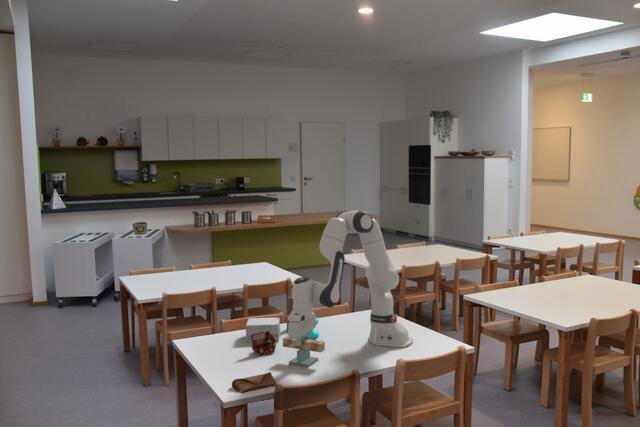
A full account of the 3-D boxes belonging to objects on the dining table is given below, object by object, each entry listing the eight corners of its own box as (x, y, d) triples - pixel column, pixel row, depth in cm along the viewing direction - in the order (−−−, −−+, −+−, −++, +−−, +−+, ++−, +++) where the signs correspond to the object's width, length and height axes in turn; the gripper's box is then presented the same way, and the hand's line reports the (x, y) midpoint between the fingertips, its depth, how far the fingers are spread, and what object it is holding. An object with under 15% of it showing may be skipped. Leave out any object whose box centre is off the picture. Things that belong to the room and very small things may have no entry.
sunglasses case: (239, 394, 230) (235, 377, 233) (234, 397, 236) (230, 381, 238) (279, 385, 239) (276, 369, 242) (273, 388, 245) (270, 372, 247)
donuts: (321, 316, 303) (314, 321, 294) (321, 335, 304) (314, 340, 295) (304, 315, 307) (296, 320, 298) (304, 333, 308) (296, 338, 299)
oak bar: (282, 346, 267) (282, 338, 267) (286, 344, 270) (286, 336, 270) (321, 352, 258) (321, 343, 258) (324, 350, 261) (324, 341, 261)
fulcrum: (318, 360, 267) (318, 346, 266) (308, 367, 258) (307, 353, 257) (299, 357, 271) (299, 343, 271) (288, 364, 263) (288, 350, 262)
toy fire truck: (278, 352, 279) (278, 331, 278) (254, 357, 273) (254, 335, 272) (272, 348, 285) (272, 327, 284) (249, 352, 279) (248, 332, 278)
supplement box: (280, 334, 308) (280, 317, 307) (279, 342, 295) (278, 324, 294) (249, 334, 308) (248, 317, 307) (246, 342, 295) (245, 324, 294)
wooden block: (307, 328, 317) (306, 296, 315) (288, 330, 313) (287, 298, 311) (304, 326, 320) (304, 294, 318) (286, 329, 316) (285, 297, 314)
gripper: (307, 307, 273) (307, 335, 274) (285, 318, 255) (286, 348, 256) (319, 308, 270) (319, 336, 272) (298, 319, 252) (298, 350, 253)
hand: (303, 342), depth 264 cm, fingers open, 6 cm apart
